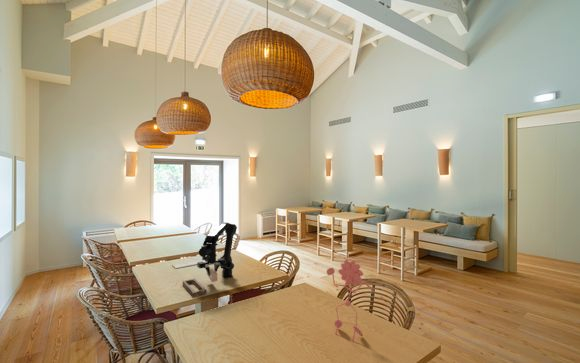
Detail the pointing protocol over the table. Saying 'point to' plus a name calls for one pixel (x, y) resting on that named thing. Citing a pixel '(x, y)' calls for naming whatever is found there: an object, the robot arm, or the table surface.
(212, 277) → the clay strip
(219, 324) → the table surface
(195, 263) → the baseboard molding
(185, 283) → the frame
